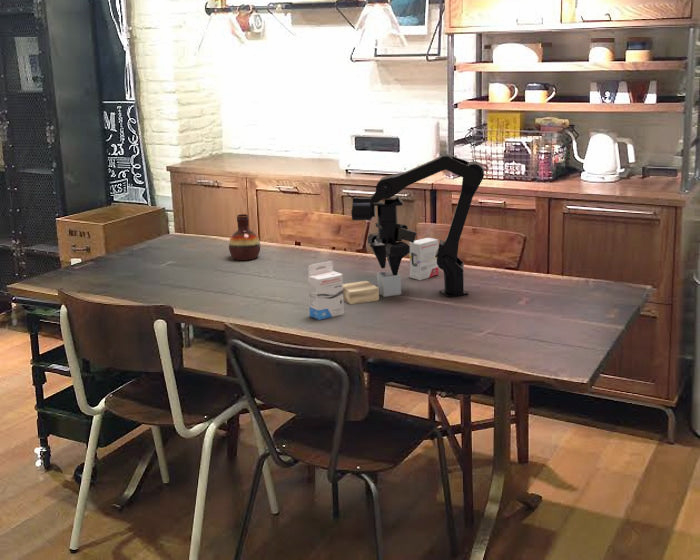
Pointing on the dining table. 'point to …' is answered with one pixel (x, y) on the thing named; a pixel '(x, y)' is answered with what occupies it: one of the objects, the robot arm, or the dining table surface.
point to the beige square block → (360, 292)
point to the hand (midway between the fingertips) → (389, 271)
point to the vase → (244, 241)
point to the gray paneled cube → (389, 283)
